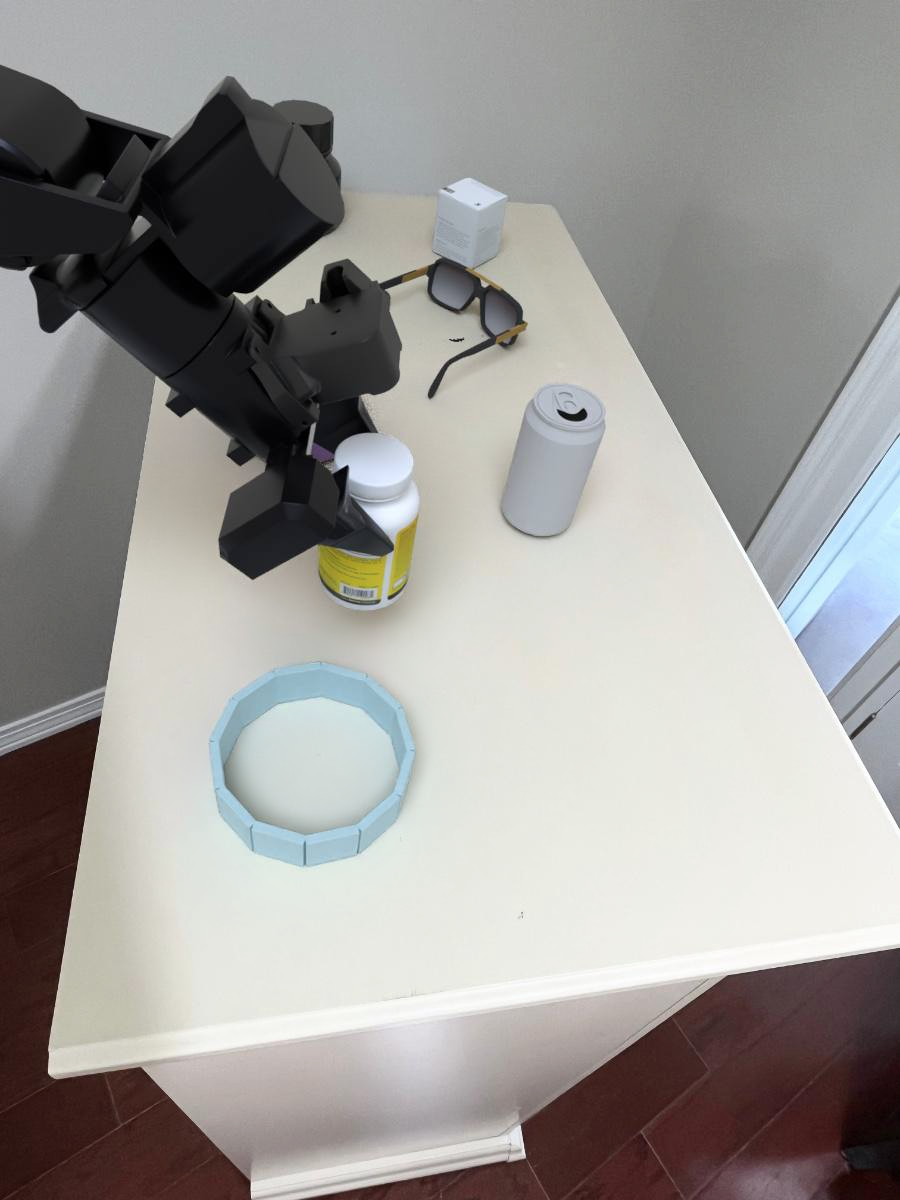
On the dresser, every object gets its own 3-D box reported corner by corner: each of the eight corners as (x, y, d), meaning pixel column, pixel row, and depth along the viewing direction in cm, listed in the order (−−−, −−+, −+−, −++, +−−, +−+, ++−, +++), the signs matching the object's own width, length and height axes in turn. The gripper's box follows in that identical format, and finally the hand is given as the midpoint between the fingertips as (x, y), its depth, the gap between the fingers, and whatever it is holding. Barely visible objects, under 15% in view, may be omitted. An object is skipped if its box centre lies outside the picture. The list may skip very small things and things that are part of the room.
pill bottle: (382, 536, 58) (398, 414, 49) (422, 597, 54) (446, 478, 46) (302, 560, 55) (304, 435, 46) (340, 626, 52) (349, 505, 43)
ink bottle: (250, 224, 94) (244, 114, 85) (280, 195, 100) (277, 88, 90) (327, 246, 93) (330, 137, 84) (353, 215, 99) (357, 110, 90)
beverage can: (510, 544, 67) (543, 433, 57) (490, 492, 70) (518, 379, 61) (580, 539, 68) (623, 429, 59) (557, 487, 72) (594, 377, 63)
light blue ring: (182, 831, 48) (174, 807, 45) (260, 671, 55) (257, 642, 53) (376, 889, 47) (380, 867, 44) (427, 719, 55) (433, 692, 52)
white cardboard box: (498, 256, 98) (510, 195, 92) (469, 272, 94) (479, 209, 89) (459, 236, 100) (469, 175, 94) (429, 250, 96) (437, 188, 91)
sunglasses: (334, 332, 83) (335, 287, 79) (435, 290, 91) (440, 247, 87) (429, 400, 78) (435, 356, 74) (526, 349, 86) (536, 307, 82)
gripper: (283, 362, 30) (504, 577, 40) (331, 158, 42) (493, 362, 52) (107, 488, 36) (341, 651, 45) (194, 275, 47) (365, 441, 57)
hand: (391, 514), depth 50 cm, fingers closed on pill bottle, 6 cm apart
